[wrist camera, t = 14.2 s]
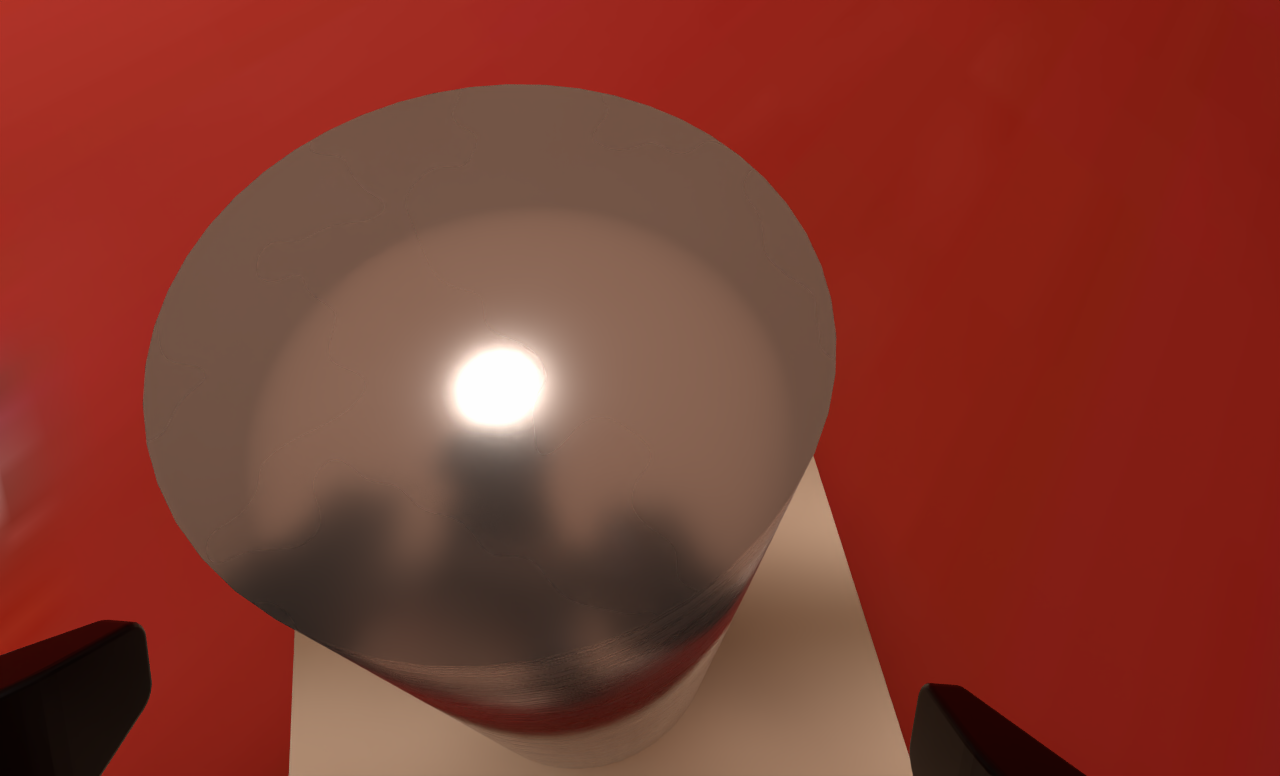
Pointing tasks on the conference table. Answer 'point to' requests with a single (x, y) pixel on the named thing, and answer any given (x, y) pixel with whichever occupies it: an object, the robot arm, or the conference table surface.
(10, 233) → the conference table surface
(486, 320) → the steel flask
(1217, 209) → the conference table surface
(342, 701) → the beige square tile
